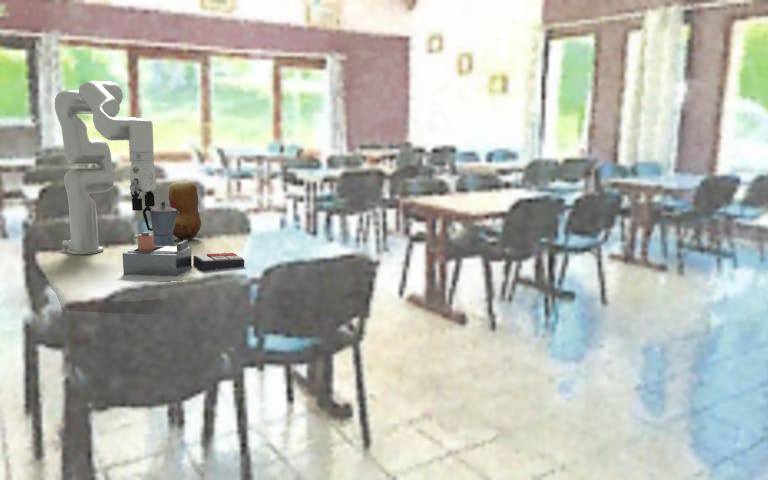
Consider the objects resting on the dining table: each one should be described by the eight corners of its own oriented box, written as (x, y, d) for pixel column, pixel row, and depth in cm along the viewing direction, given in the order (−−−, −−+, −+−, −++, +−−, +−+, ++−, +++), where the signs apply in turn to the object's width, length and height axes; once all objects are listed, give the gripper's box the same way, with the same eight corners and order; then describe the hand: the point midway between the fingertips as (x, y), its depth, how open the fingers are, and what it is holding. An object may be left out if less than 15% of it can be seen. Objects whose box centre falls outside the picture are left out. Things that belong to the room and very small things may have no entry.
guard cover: (156, 252, 223) (155, 243, 222) (166, 247, 231) (165, 239, 230) (179, 253, 222) (179, 244, 222) (188, 248, 230) (188, 239, 230)
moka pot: (174, 258, 247) (172, 204, 244) (136, 255, 250) (133, 202, 247) (187, 253, 256) (185, 201, 253) (150, 250, 259) (147, 199, 256)
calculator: (244, 257, 235) (202, 259, 227) (244, 269, 236) (202, 272, 228) (234, 251, 245) (193, 253, 237) (233, 263, 245) (192, 265, 237)
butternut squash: (163, 239, 283) (160, 180, 279) (192, 235, 292) (190, 178, 288) (178, 244, 273) (176, 182, 269) (208, 240, 282) (206, 181, 278)
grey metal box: (123, 274, 222) (122, 252, 221) (141, 264, 236) (140, 244, 234) (176, 276, 221) (175, 254, 219) (191, 266, 234) (191, 246, 233)
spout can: (150, 263, 225) (149, 234, 223) (133, 262, 226) (132, 233, 224) (156, 259, 230) (155, 231, 228) (139, 258, 230) (138, 230, 228)
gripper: (141, 159, 213) (143, 212, 216) (163, 155, 230) (164, 205, 233) (118, 158, 213) (121, 211, 217) (141, 154, 230) (143, 204, 234)
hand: (143, 208), depth 225 cm, fingers open, 9 cm apart
